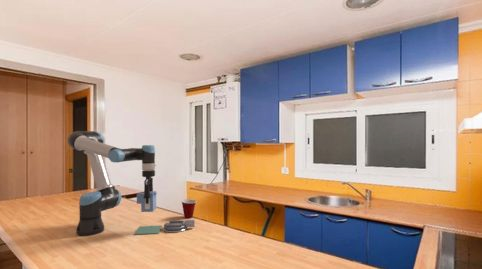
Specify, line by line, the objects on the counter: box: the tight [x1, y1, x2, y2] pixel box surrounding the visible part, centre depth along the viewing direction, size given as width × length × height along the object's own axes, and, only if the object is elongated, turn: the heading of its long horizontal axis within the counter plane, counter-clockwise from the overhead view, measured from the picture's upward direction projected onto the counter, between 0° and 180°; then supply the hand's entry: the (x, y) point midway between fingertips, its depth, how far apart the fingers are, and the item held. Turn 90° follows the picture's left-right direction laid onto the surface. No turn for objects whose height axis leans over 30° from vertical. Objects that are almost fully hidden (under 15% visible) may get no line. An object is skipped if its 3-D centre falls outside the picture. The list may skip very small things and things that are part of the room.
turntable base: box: [162, 226, 189, 234], centre depth 173 cm, size 15×15×1 cm
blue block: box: [136, 190, 158, 213], centre depth 170 cm, size 7×12×11 cm, turn 91°
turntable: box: [163, 218, 196, 231], centre depth 173 cm, size 14×19×4 cm
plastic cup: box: [180, 198, 197, 219], centre depth 198 cm, size 11×11×12 cm
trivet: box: [133, 225, 163, 236], centre depth 170 cm, size 14×14×1 cm
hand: (148, 207), depth 170 cm, fingers closed on blue block, 7 cm apart
